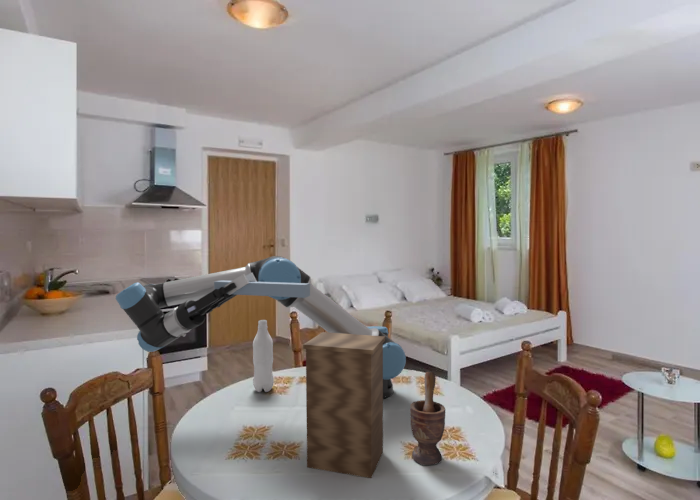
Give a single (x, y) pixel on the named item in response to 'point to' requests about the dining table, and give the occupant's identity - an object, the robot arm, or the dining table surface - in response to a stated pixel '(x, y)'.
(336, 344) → the stand
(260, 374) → the water bottle
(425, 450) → the mortar and pestle
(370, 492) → the dining table surface
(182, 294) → the robot arm
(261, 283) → the bar
